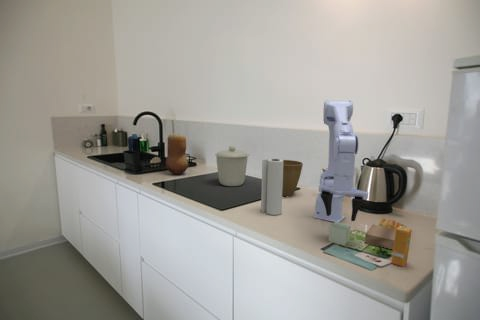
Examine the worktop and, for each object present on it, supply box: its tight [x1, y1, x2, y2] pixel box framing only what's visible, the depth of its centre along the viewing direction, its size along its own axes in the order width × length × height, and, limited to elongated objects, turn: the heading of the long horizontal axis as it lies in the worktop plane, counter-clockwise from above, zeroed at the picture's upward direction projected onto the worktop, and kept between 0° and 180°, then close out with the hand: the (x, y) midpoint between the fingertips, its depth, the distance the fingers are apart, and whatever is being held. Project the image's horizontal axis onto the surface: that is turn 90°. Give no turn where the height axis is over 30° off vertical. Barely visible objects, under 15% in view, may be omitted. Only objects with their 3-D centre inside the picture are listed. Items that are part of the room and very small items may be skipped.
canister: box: [214, 145, 250, 187], centre depth 169 cm, size 18×18×21 cm
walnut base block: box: [364, 224, 396, 251], centre depth 99 cm, size 10×10×3 cm
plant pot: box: [282, 159, 304, 197], centre depth 150 cm, size 15×15×16 cm
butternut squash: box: [165, 133, 189, 176], centre depth 193 cm, size 14×13×25 cm
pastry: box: [378, 217, 407, 229], centre depth 108 cm, size 9×7×4 cm
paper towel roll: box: [260, 158, 284, 216], centre depth 123 cm, size 7×6×21 cm
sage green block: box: [328, 222, 352, 246], centre depth 99 cm, size 5×5×5 cm
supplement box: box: [390, 225, 413, 268], centre depth 84 cm, size 3×3×10 cm
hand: (340, 217), depth 98 cm, fingers open, 7 cm apart
